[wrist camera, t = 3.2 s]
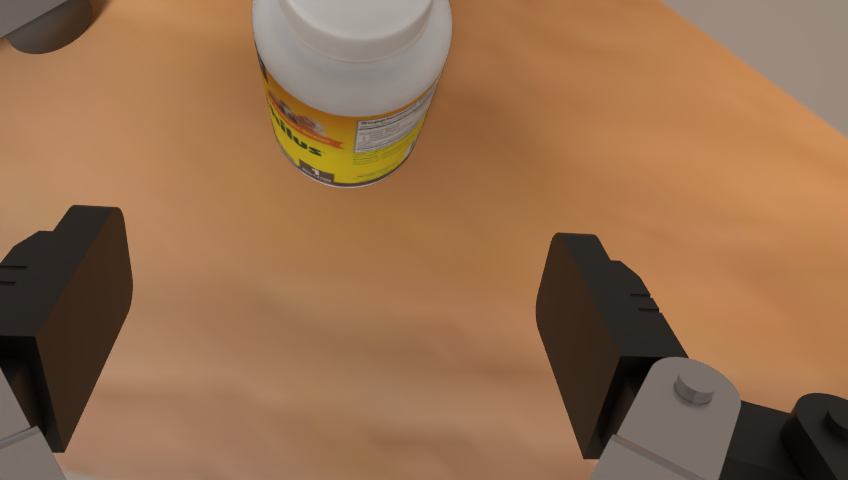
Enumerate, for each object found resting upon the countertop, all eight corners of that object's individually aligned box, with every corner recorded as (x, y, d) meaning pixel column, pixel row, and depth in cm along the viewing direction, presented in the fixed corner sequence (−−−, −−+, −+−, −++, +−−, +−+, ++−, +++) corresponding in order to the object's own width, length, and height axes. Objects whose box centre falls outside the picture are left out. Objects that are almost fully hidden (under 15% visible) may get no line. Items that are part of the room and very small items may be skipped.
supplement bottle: (250, 88, 26) (201, -101, 16) (381, 40, 27) (412, -163, 17) (308, 216, 25) (296, 103, 15) (441, 161, 26) (509, 23, 16)
